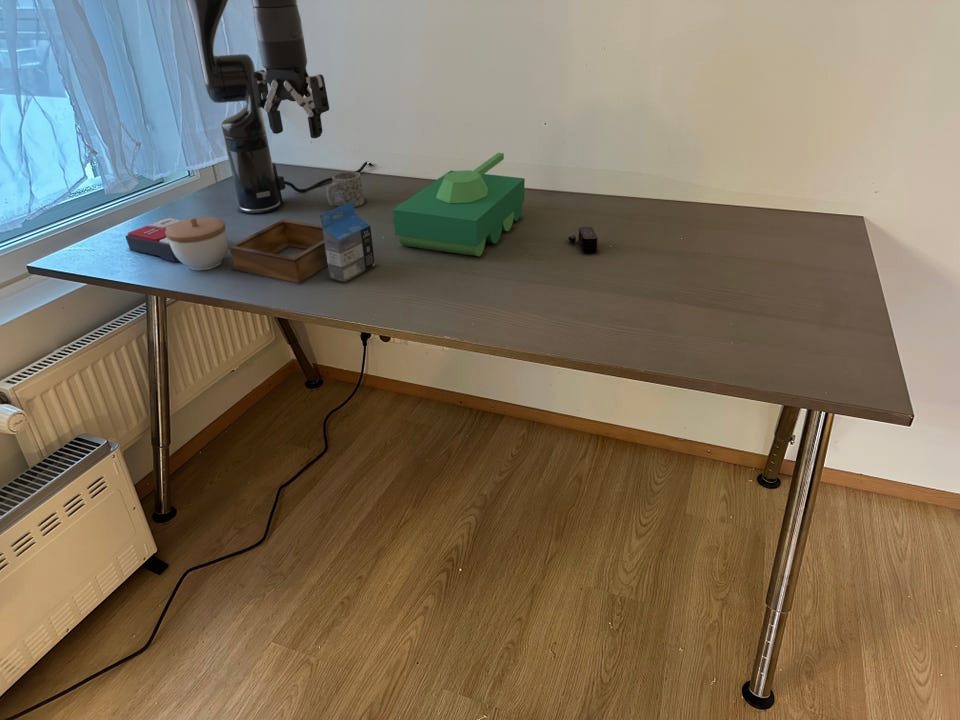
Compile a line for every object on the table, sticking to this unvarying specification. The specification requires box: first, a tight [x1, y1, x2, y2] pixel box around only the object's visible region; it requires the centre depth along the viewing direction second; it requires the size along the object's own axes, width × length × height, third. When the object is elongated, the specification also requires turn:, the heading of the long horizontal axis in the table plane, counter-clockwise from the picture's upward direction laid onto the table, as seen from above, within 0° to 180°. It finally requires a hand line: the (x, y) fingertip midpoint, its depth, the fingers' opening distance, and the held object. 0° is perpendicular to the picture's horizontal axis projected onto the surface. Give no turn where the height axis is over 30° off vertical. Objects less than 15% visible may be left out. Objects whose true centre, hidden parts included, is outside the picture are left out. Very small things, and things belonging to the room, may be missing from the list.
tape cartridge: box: [319, 201, 376, 283], centre depth 122 cm, size 9×4×12 cm, turn 148°
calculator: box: [124, 217, 182, 263], centre depth 137 cm, size 11×4×15 cm
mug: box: [325, 170, 365, 208], centre depth 156 cm, size 10×7×7 cm
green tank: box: [392, 152, 526, 257], centre depth 141 cm, size 18×12×35 cm
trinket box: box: [165, 216, 229, 271], centre depth 128 cm, size 11×11×9 cm
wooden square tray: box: [227, 219, 328, 284], centre depth 129 cm, size 16×16×5 cm
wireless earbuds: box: [567, 226, 599, 255], centre depth 131 cm, size 5×7×3 cm, turn 2°
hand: (296, 135), depth 119 cm, fingers open, 8 cm apart
